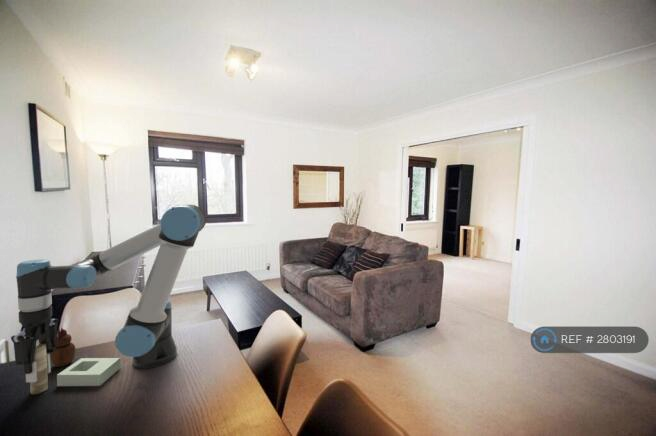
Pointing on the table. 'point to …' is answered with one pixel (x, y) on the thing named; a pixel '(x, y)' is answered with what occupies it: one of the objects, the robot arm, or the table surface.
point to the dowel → (40, 370)
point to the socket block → (88, 372)
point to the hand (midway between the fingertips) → (38, 376)
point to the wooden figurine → (63, 349)
